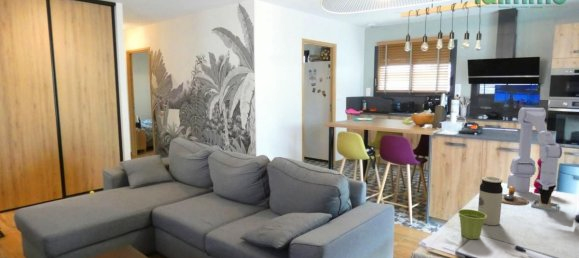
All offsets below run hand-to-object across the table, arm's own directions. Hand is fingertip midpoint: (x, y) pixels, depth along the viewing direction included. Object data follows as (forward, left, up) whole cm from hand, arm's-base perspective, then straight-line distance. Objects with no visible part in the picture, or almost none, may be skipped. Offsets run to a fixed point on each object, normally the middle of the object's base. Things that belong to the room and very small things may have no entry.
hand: (545, 201), depth 160 cm
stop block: (0, 0, -3) cm, 3 cm away
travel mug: (+5, -36, -4) cm, 36 cm away
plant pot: (+14, -53, -4) cm, 54 cm away
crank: (-13, -5, -2) cm, 14 cm away
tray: (0, 0, -4) cm, 4 cm away
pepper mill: (-18, +20, -4) cm, 28 cm away
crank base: (-12, -8, -4) cm, 14 cm away
